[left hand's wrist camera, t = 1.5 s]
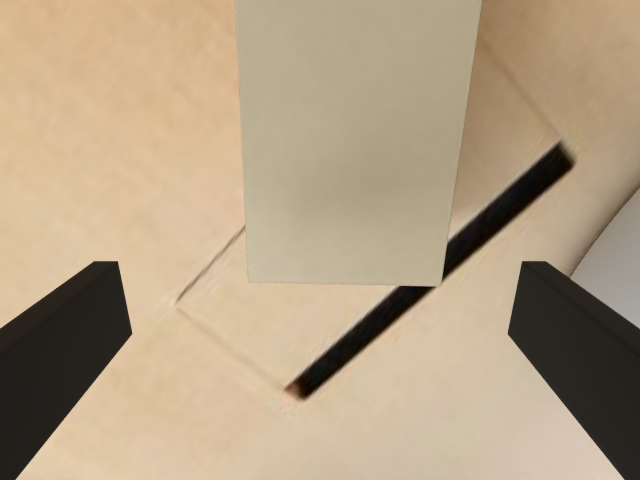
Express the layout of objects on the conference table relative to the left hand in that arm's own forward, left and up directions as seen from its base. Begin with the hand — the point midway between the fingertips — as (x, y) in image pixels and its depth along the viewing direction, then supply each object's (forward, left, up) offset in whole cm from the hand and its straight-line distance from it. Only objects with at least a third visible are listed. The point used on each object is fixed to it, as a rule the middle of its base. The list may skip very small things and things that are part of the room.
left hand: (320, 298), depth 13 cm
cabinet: (+5, -2, -19) cm, 20 cm away
